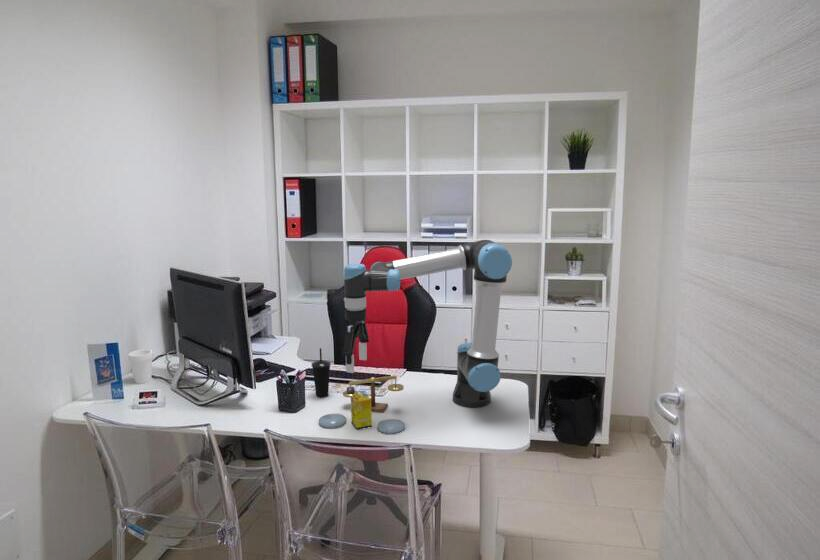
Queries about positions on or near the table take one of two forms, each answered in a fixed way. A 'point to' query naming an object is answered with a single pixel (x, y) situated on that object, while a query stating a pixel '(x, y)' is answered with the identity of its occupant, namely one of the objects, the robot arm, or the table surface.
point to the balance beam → (391, 387)
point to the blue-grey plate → (391, 426)
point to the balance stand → (376, 406)
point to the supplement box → (361, 411)
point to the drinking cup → (321, 376)
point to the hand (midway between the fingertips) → (356, 365)
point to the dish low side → (332, 421)
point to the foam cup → (141, 365)
